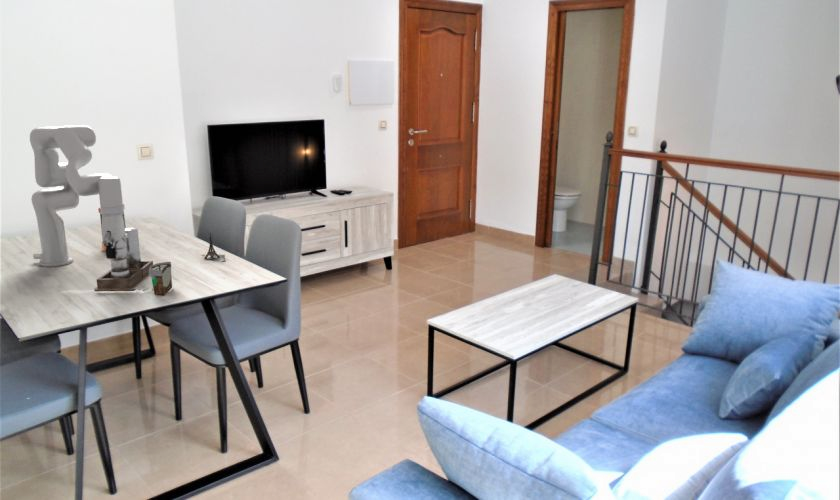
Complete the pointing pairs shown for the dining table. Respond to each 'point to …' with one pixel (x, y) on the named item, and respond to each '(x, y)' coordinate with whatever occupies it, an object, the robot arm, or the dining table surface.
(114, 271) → the plastic bottle
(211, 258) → the eiffel tower figurine
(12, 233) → the dining table surface
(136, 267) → the grey metal canister
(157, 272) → the food container
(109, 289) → the wooden compartment tray
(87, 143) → the robot arm
